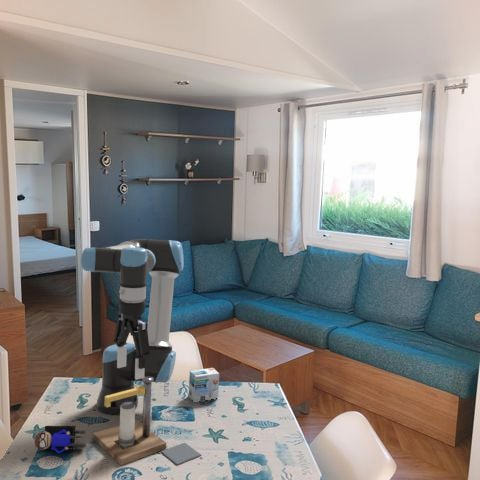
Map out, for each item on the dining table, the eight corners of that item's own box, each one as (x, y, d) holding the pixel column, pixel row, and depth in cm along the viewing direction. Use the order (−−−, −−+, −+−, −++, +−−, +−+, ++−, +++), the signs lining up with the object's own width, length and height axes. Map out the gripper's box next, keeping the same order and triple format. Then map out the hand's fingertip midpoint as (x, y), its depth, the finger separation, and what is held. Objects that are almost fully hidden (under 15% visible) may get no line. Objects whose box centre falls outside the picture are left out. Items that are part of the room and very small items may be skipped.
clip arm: (103, 405, 150) (104, 394, 150) (141, 394, 159) (141, 385, 158) (107, 407, 148) (107, 397, 148) (144, 397, 157) (145, 387, 156)
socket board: (92, 439, 160) (93, 433, 160) (136, 425, 171) (136, 419, 171) (120, 465, 146) (121, 459, 146) (166, 448, 157) (166, 442, 157)
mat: (161, 452, 154) (161, 451, 154) (184, 443, 160) (184, 442, 160) (177, 465, 148) (177, 464, 148) (201, 455, 154) (201, 454, 154)
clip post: (138, 435, 160) (140, 377, 158) (147, 432, 163) (149, 375, 161) (143, 440, 158) (146, 381, 156) (153, 437, 160) (155, 378, 158)
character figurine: (83, 456, 150) (32, 457, 149) (88, 443, 157) (40, 443, 156) (83, 433, 149) (32, 434, 147) (88, 420, 156) (39, 420, 154)
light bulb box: (194, 403, 191) (195, 376, 190) (187, 396, 197) (188, 370, 196) (218, 399, 196) (220, 373, 195) (211, 392, 202) (213, 367, 200)
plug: (114, 447, 156) (116, 403, 154) (129, 442, 160) (131, 399, 158) (123, 454, 152) (124, 410, 150) (138, 449, 156) (139, 405, 154)
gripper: (103, 293, 150) (101, 363, 152) (141, 310, 133) (138, 388, 136) (125, 291, 155) (123, 358, 157) (164, 306, 138) (161, 382, 141)
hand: (130, 372), depth 146 cm, fingers open, 10 cm apart
